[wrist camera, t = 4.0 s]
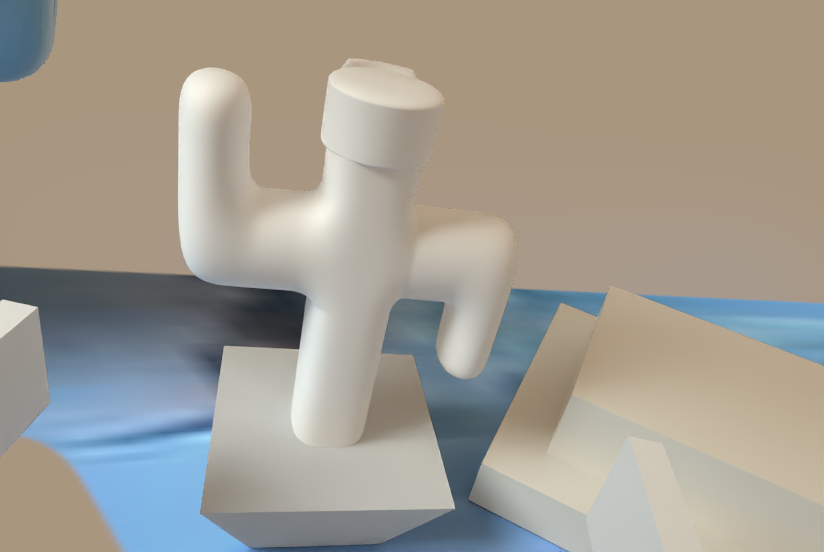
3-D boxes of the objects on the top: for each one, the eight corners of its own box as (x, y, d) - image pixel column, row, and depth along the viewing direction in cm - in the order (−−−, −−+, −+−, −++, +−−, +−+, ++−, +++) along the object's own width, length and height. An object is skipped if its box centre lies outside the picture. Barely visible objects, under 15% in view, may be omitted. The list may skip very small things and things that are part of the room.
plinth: (468, 499, 23) (504, 402, 20) (549, 331, 34) (579, 256, 32) (942, 742, 18) (1060, 656, 16) (853, 456, 30) (914, 380, 28)
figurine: (461, 580, 20) (632, 152, 13) (157, 595, 18) (148, 79, 10) (420, 422, 26) (520, 70, 19) (190, 417, 24) (200, 12, 16)
